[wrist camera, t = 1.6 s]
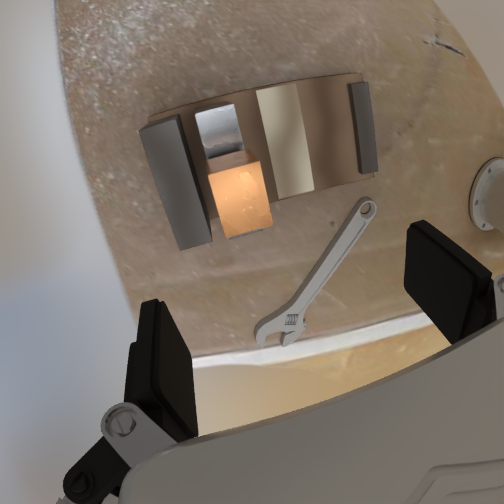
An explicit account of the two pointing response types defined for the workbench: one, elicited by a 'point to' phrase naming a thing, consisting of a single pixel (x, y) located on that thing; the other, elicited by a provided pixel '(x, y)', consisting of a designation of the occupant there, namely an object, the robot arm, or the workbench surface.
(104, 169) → the workbench surface
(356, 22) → the workbench surface
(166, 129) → the bench vise
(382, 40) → the workbench surface
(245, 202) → the sliding jaw
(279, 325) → the adjustable wrench
